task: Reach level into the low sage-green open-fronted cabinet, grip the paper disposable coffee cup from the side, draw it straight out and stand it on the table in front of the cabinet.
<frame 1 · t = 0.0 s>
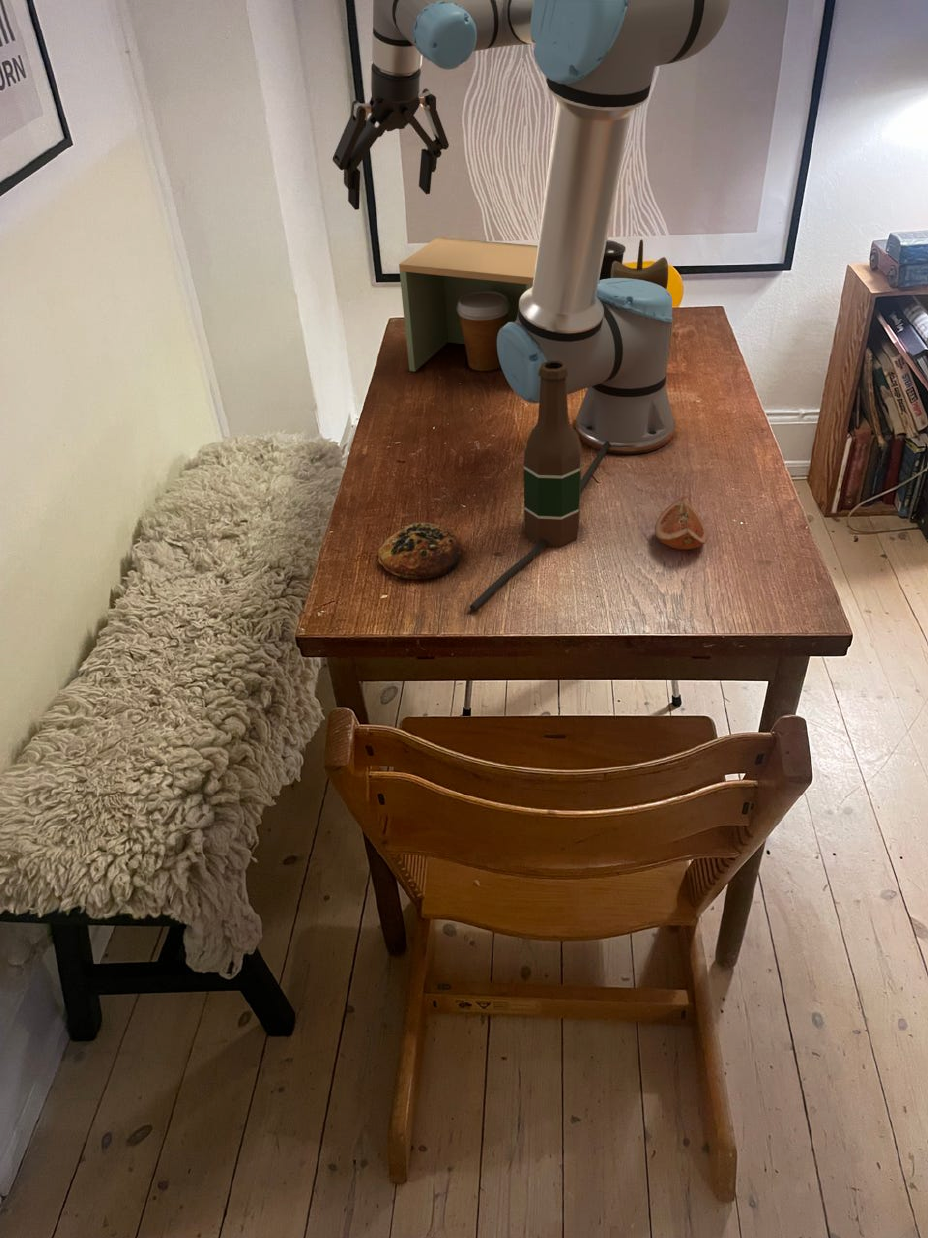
hand: (389, 197, 155), 28 cm above the table, tool tilted 20°, fingers open, 13 cm apart
bread roll: (420, 559, 121), on the table
drinking cup: (602, 319, 181), on the table
fruit slice: (679, 546, 120), on the table
cabinet: (485, 363, 167), on the table
kendama: (633, 352, 168), on the table
disposable coffee cup: (485, 364, 167), on the table
beer bottle: (552, 533, 124), on the table
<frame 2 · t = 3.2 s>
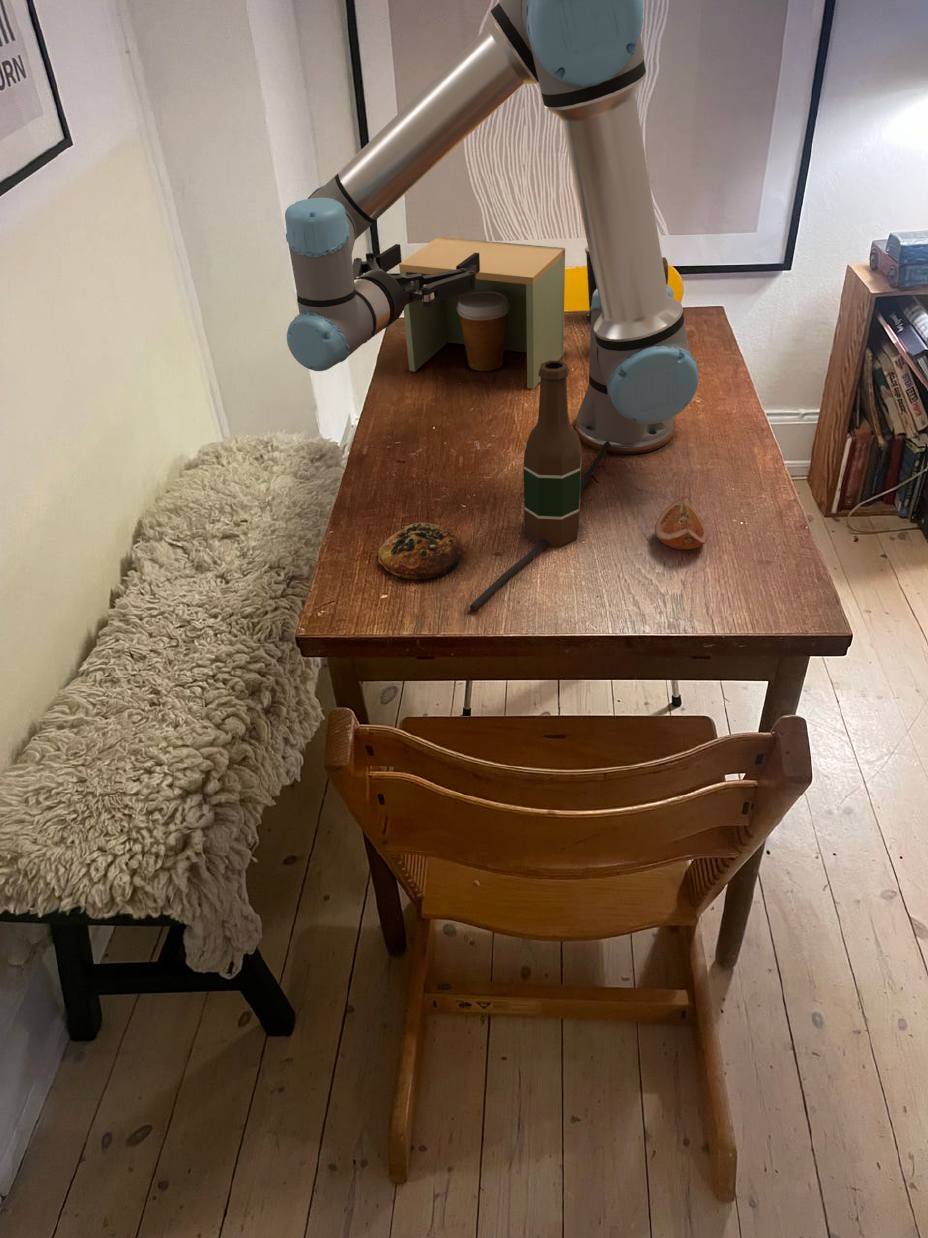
hand: (437, 257, 141), 24 cm above the table, tool horizontal, fingers open, 13 cm apart
nothing on the table moved.
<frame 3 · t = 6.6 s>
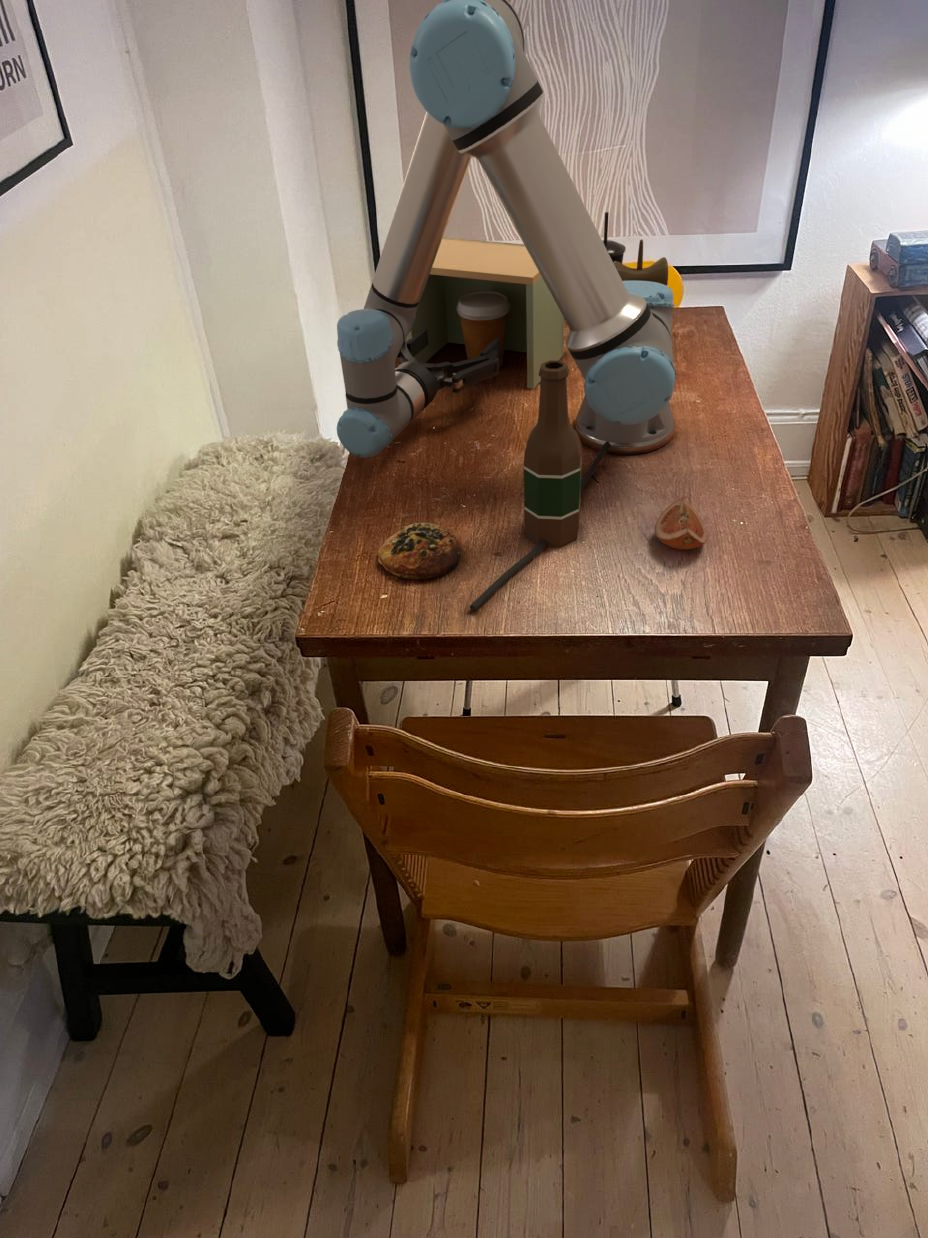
hand: (461, 340, 156), 8 cm above the table, tool horizontal, fingers open, 13 cm apart
nothing on the table moved.
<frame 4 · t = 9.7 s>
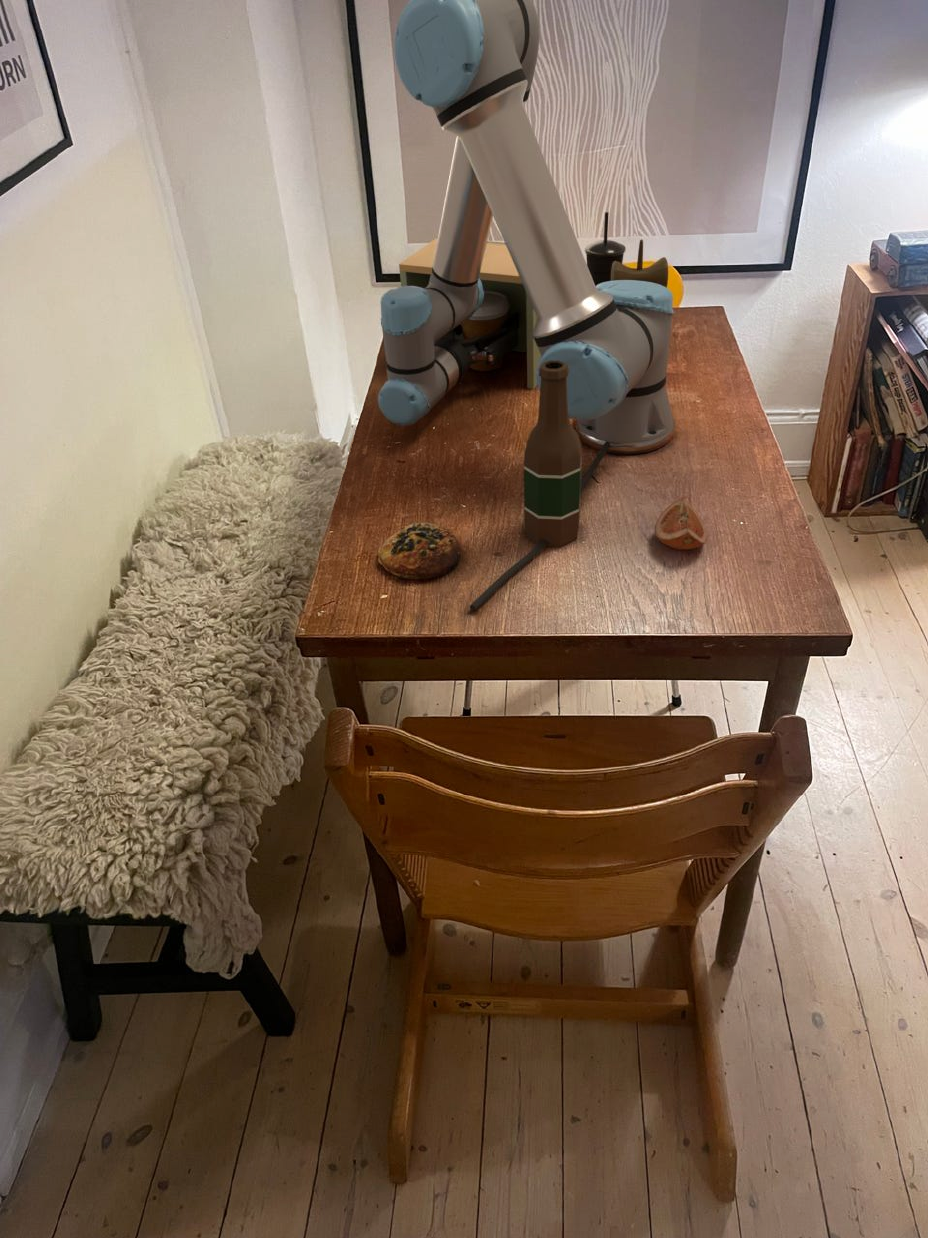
hand: (494, 317, 166), 7 cm above the table, tool horizontal, fingers closed on disposable coffee cup, 8 cm apart
disposable coffee cup: (485, 364, 167), on the table, touching gripper
everything else where it was.
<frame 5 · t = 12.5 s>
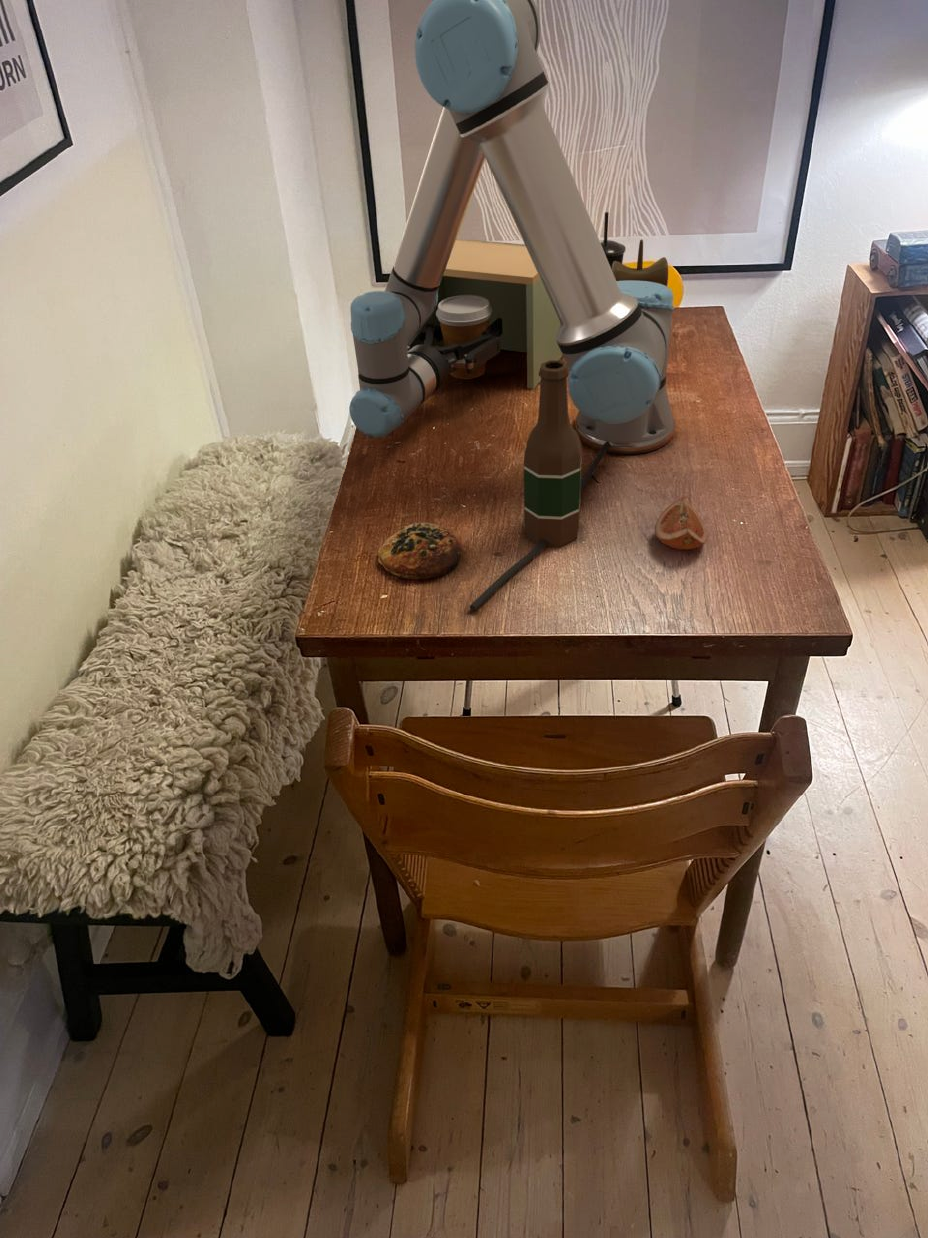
hand: (476, 322, 159), 9 cm above the table, tool horizontal, fingers closed on disposable coffee cup, 8 cm apart
disposable coffee cup: (467, 372, 160), point 2 cm above the table, touching gripper
everything else where it was.
when the fingers open (7 cm above the table, at t = 15.2 s): disposable coffee cup stays where it is, on the table.
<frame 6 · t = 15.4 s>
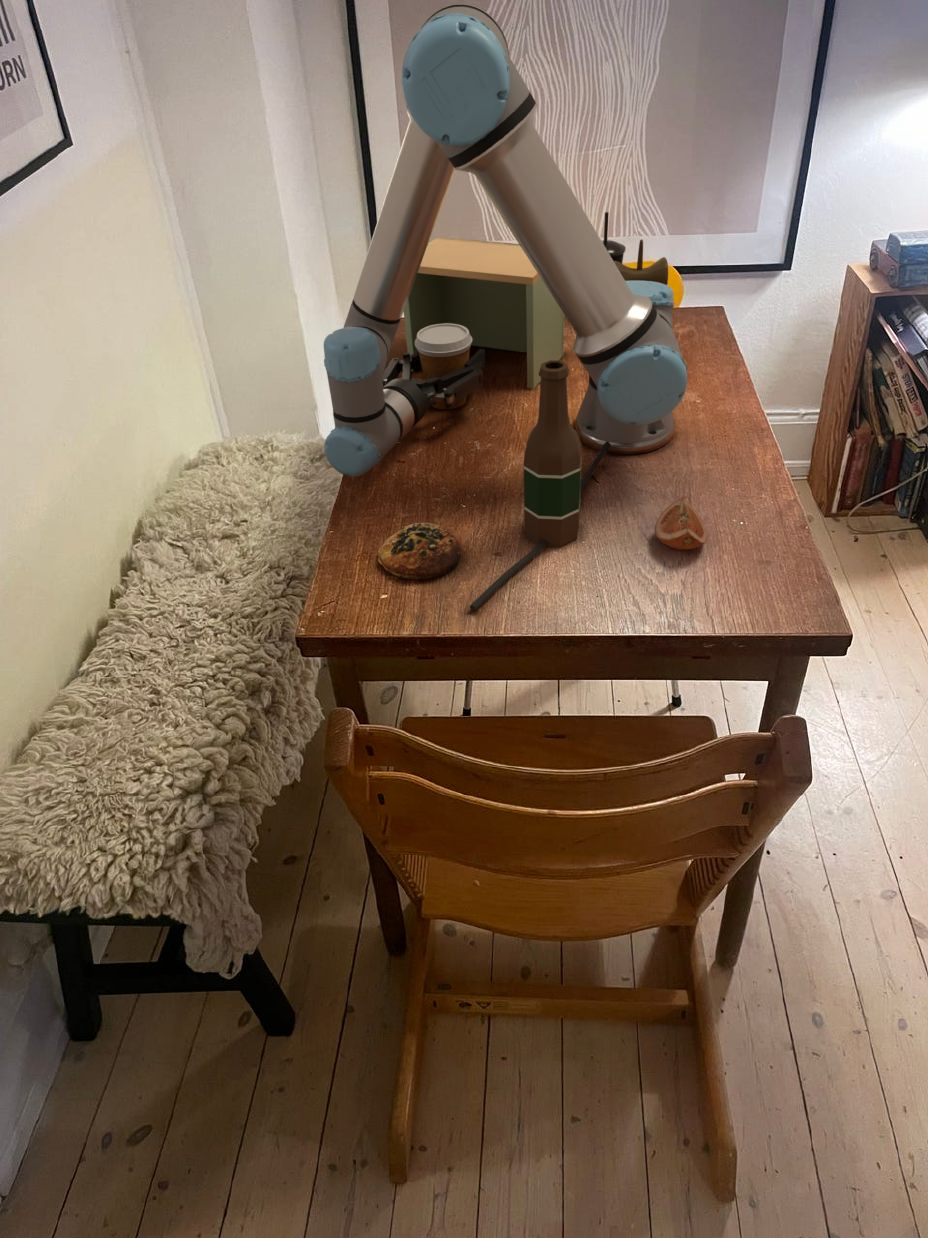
hand: (456, 353, 155), 7 cm above the table, tool horizontal, fingers open, 9 cm apart
disposable coffee cup: (447, 402, 156), on the table
everything else where it was.
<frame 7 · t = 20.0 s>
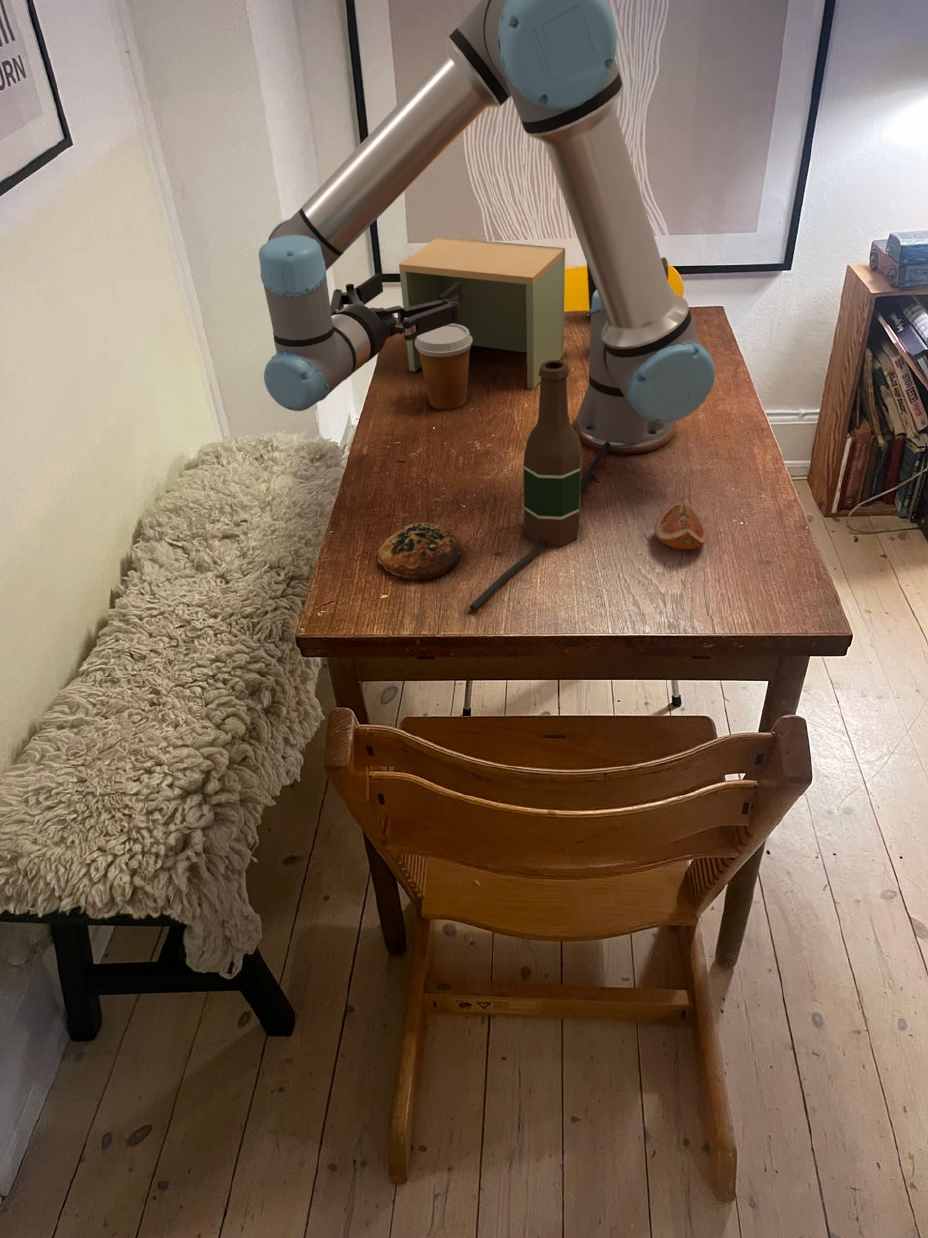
hand: (419, 286, 138), 22 cm above the table, tool horizontal, fingers open, 13 cm apart
nothing on the table moved.
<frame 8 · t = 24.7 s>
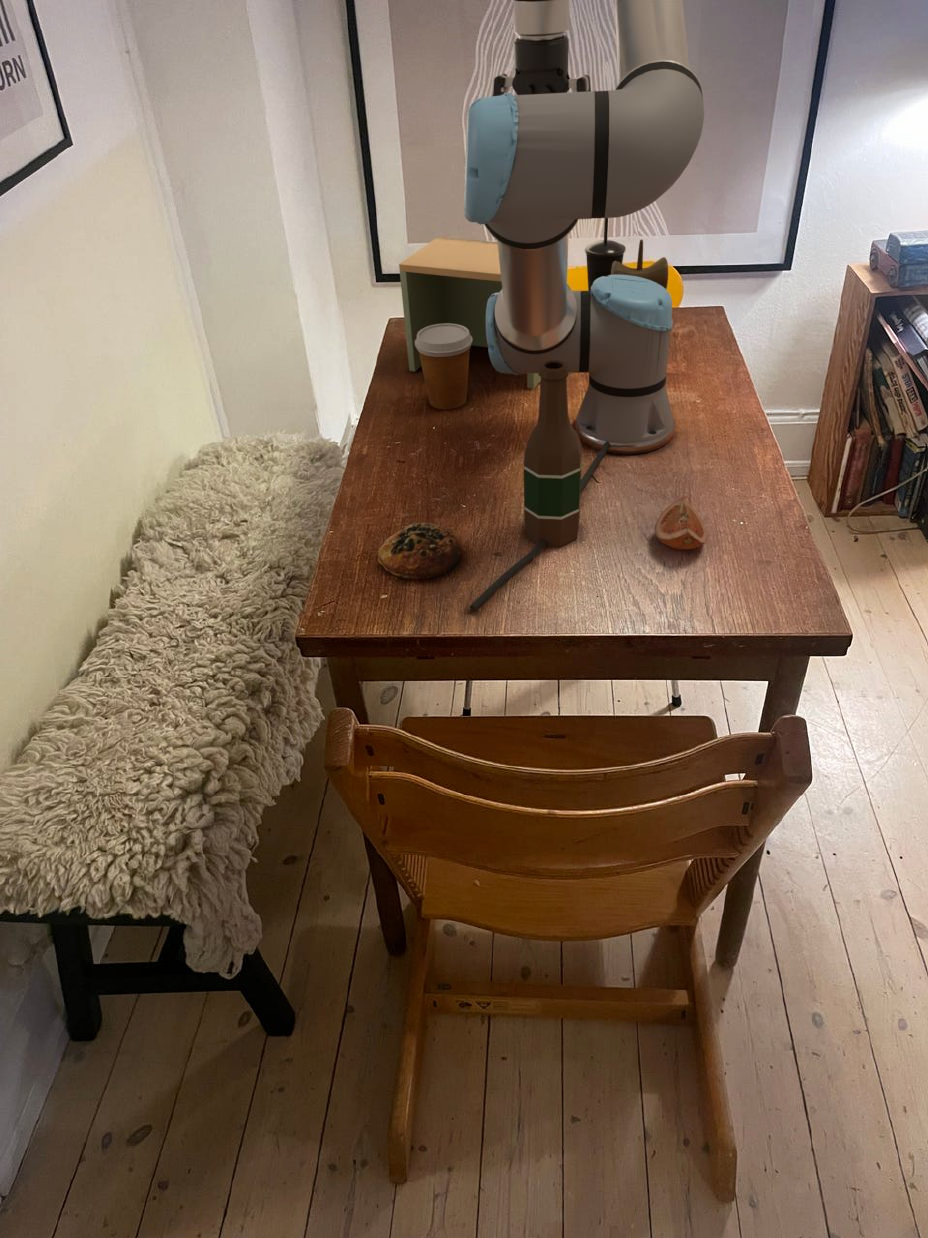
hand: (541, 199, 139), 31 cm above the table, tool pointing down, fingers open, 13 cm apart
nothing on the table moved.
at the end: disposable coffee cup inside the target area (0.1 cm from its centre), on the table; disposable coffee cup tilted 0°; the gripper is holding nothing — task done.
